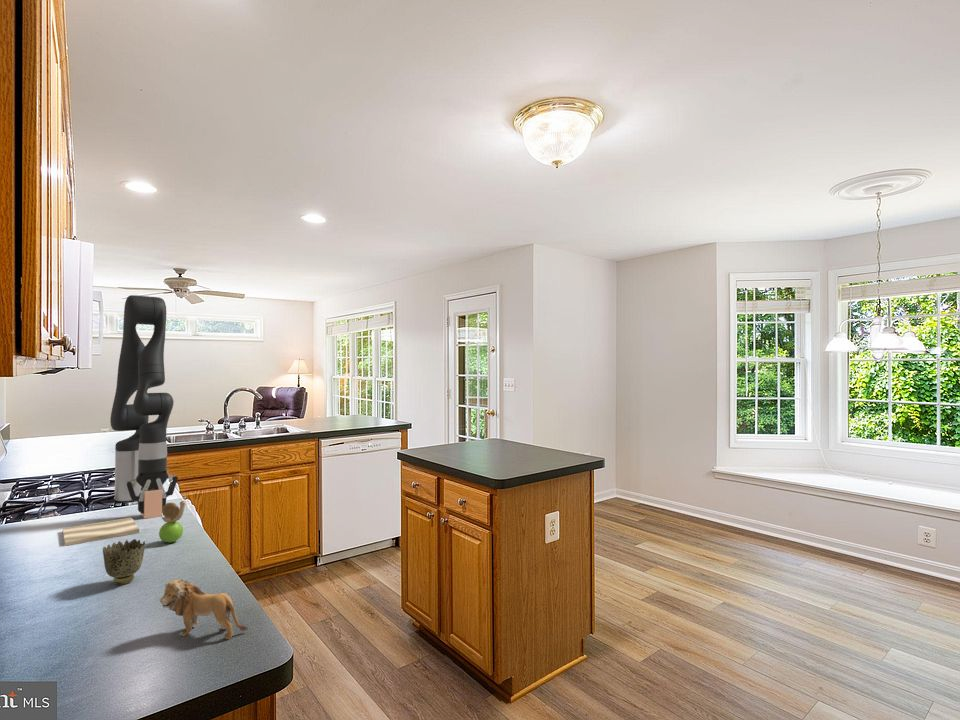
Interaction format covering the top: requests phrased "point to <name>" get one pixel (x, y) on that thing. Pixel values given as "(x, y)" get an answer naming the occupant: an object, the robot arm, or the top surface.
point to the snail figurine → (172, 522)
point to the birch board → (99, 531)
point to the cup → (123, 560)
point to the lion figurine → (199, 605)
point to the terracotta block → (152, 503)
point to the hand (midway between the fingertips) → (151, 511)
